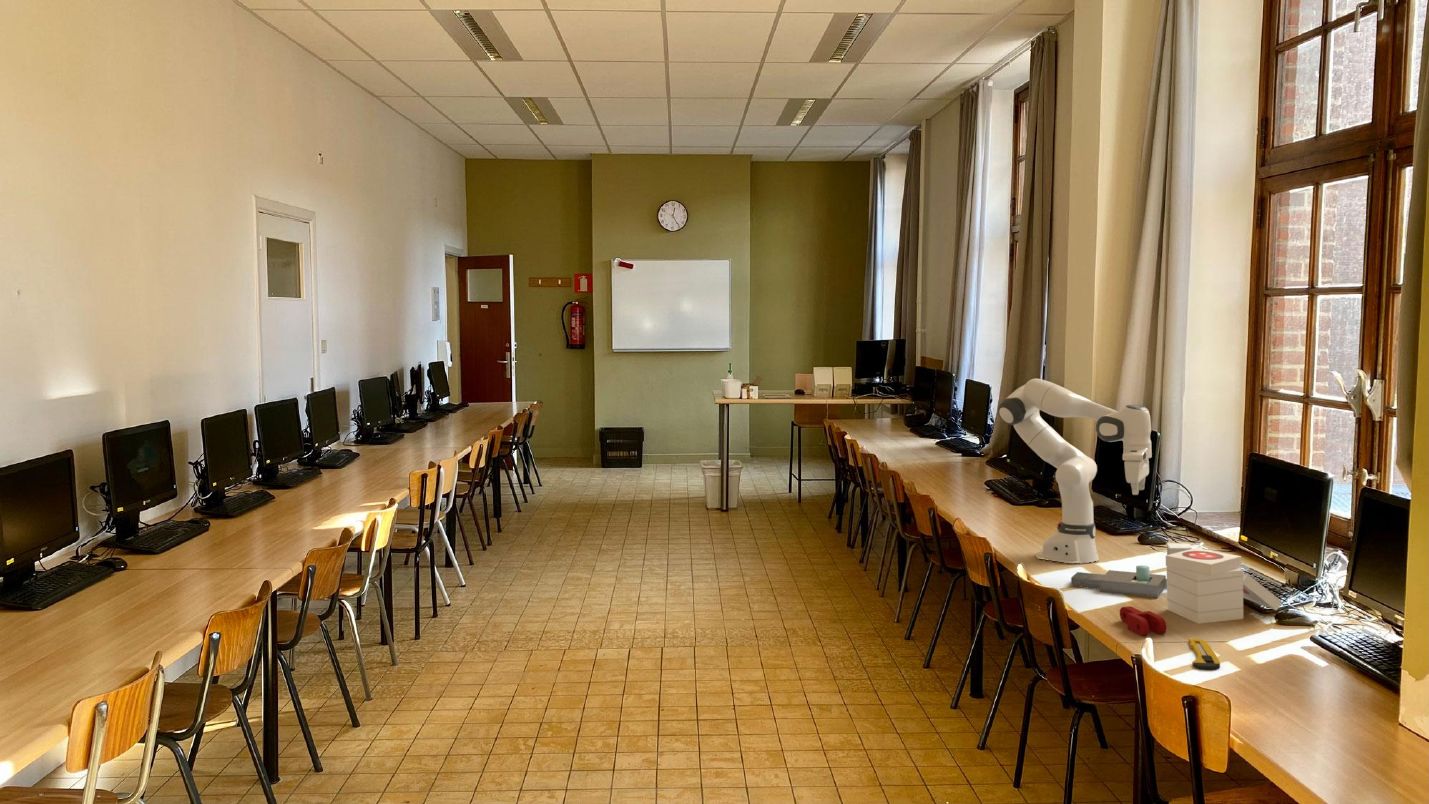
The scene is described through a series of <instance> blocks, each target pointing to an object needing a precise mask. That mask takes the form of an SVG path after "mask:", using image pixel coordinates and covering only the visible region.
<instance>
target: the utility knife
mask: <svg viewBox="0 0 1429 804" xmlns="http://www.w3.org/2000/svg"><path fill="white" fill-rule="evenodd" d="M1188 644H1189V648H1190V649H1192V650H1193V652H1194V653H1195V655H1196V659H1194V660H1193V661H1192V663H1191V665H1192V667H1193V668H1194V669H1197V670H1202V671H1203V670H1204V671H1214V670H1218V669H1220V667H1221V662H1220V660H1219V658H1218V656H1217V654H1216V653H1215V651H1214V650H1213V648H1212V647H1211V645H1210V644H1209V643H1208V642H1207V641H1206V640H1204V639H1201V638H1197V637H1196V638H1195V637H1194V638H1188Z"/></svg>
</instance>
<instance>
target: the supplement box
mask: <svg viewBox="0 0 1429 804" xmlns="http://www.w3.org/2000/svg"><path fill="white" fill-rule="evenodd" d="M1190 549H1194V548H1193V546H1192V545H1191V544H1190V543H1186V542H1185V543H1178V542H1177V543H1176V542H1175V543H1174V542H1173V543H1172V542H1171V543H1170V542H1169V543H1166V555H1170V554H1174V553H1178V552H1182V551H1186V550H1190Z"/></svg>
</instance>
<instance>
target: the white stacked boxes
mask: <svg viewBox="0 0 1429 804" xmlns="http://www.w3.org/2000/svg"><path fill="white" fill-rule="evenodd" d="M1165 566H1166V609H1167V611H1169V612H1172V613H1173V614H1176V615H1178V616H1181V617H1183V618H1185V619H1188V620H1190V621H1191V622H1194V623H1196V624H1199V625H1200V624H1208V623H1217V622H1225V621H1235V620H1243V619H1244V599H1245V600H1249V601H1251V602H1254V603H1256V604H1259V605H1261V606H1264V607H1267V608H1269V609H1272V610H1273V611H1278V609H1279V608H1280V607H1281V606H1282V603H1283V601H1282V600H1281V599H1279V598H1278V596H1276V595H1274V594H1273V593H1272V592H1271V591H1270V590H1268V588H1265V586H1263V585H1262V584H1261V583H1260V582H1258V581H1257V580H1255V579H1254V578H1253V576H1250V574H1247V573H1244V570H1243V569H1241V568H1242V556H1241V555H1235V554H1232V553H1231V554H1230V553H1225V552H1220V551H1215V550H1214V551H1213V550H1209V549H1204V548H1198V547H1194V548H1193V549H1190V550H1186V551H1182V552H1178V553H1174V554H1170V555H1167V554H1166V555H1165Z"/></svg>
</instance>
